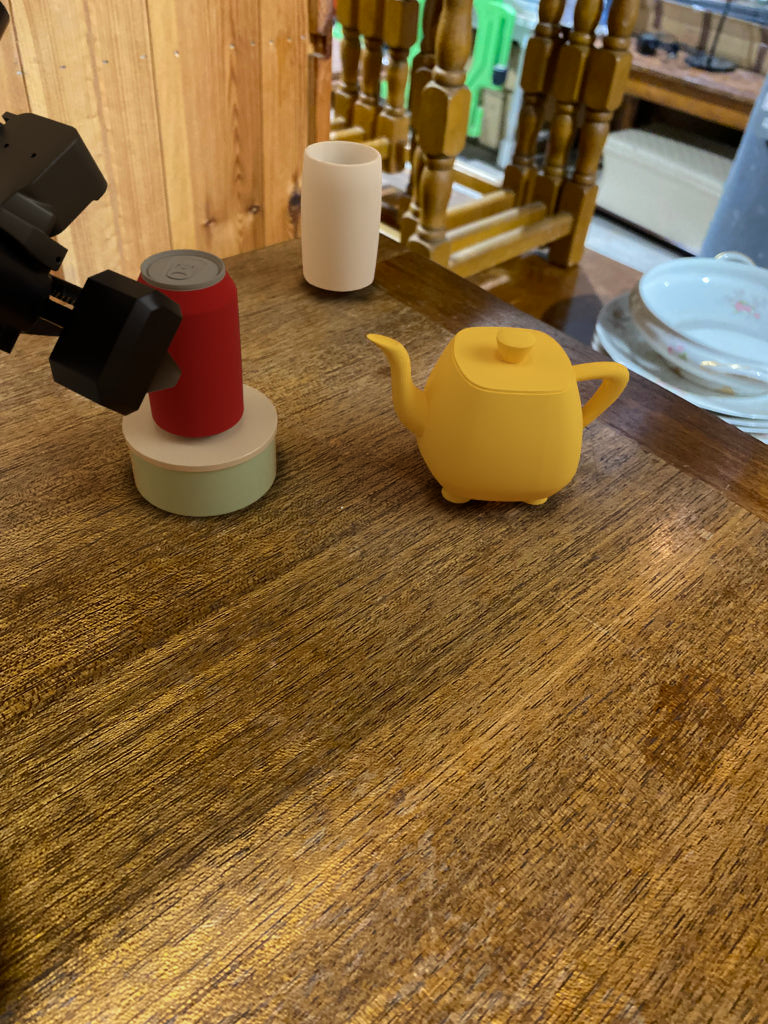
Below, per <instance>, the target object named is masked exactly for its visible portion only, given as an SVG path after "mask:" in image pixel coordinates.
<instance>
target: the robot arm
mask: <svg viewBox="0 0 768 1024" xmlns="http://www.w3.org/2000/svg"><path fill="white" fill-rule="evenodd" d="M10 23H11V16H10V14H9V11H8V10H7V7H6V6H5V5H4V3H3V1H1V0H0V42H1V41H2V39H3V36H4V35H5V32H6V31H7V29H8V26H9V24H10ZM1 118H2V119H3V121H4V123H3V122H2V121H0V351H2V352H3V353H6V354H9V355H11V354H12V351H13V349H14V347H15V345H16V343H17V341H18V339H19V337H20V335H29V336H41V337H54V338H55V337H57V340H56V342H55V343H54V346H53V348H52V350H51V353H50V355H49V357H48V363H49V367H50V372H51V375H52V380H53V382H54V383H56V384H58V385H60V386H62V387H63V388H66V389H68V390H70V391H71V392H73V393H75V394H78V395H79V396H81V397H83V398H85V399H87V400H89V401H91V402H93V403H95V404H96V405H99V406H101V407H103V408H105V409H107V410H110V411H112V412H115V413H118V414H120V415H122V416H123V417H124V416H127V415H129V414H131V413H133V412H135V411H137V410H139V408H140V406H141V404H142V402H143V400H144V398H145V395H146V393H150V392H155V391H159V390H163V389H167V388H172V387H174V386H175V385H176V384H177V382H178V380H179V378H180V376H181V373H182V371H181V369H180V368H179V366H178V365H177V363H176V362H175V361H174V359H173V358H172V356H171V355H170V353H169V352H168V351H167V350H168V348H169V346H170V344H171V342H172V340H173V338H174V336H175V334H176V332H177V330H178V328H179V325H180V323H181V321H182V319H183V317H182V313H181V309H180V305H179V304H177V303H176V302H174V301H173V300H172V299H170V298H169V297H167V296H166V295H164V294H163V293H162V292H160V291H159V290H157V289H155V288H152V287H150V286H148V285H145V284H143V283H141V282H138V281H137V279H133V278H130V277H128V276H127V275H123V274H121V273H119V272H116V271H114V270H111V269H109V268H108V269H105V270H103V271H100V272H98V273H94V274H93V275H90V276H88V277H87V278H86V280H85V282H84V284H83V287H81V286H80V285H77V284H74V283H72V282H70V281H68V280H65V279H63V278H60V277H58V276H56V275H54V274H51V271H52V272H59V270H60V268H61V266H62V264H63V262H64V260H65V258H66V256H67V254H68V252H69V249H68V248H66V246H63V244H61V243H59V242H57V241H56V240H54V239H53V238H54V237H56V236H58V235H60V234H62V233H63V232H64V231H65V230H66V229H67V228H68V227H69V226H70V225H71V224H72V223H73V222H74V221H75V220H76V219H77V218H78V217H79V216H80V215H81V214H82V213H83V212H84V211H85V210H86V209H87V208H88V206H90V204H91V203H92V202H94V201H95V202H97V201H100V199H101V198H102V197H103V196H104V195H105V193H106V192H107V190H108V181H107V180H106V178H105V176H104V175H103V173H102V171H101V169H100V167H99V166H98V164H97V162H96V160H95V159H94V157H93V155H92V154H91V151H90V150H89V148H88V146H87V145H86V143H85V141H84V140H83V138H82V137H81V134H80V133H79V131H78V129H77V128H76V127H75V126H72V125H70V124H67V123H64V122H60V121H57V120H55V119H51V118H49V117H45V116H42V115H40V114H36V113H33V112H23V113H19V114H15V113H13V112H10V111H5V112H4V113H2V114H1ZM50 297H52V298H55V299H57V300H58V301H61V302H63V303H66V304H67V305H70V306H72V308H70V307H68V306H66V305H63V304H61V303H59V302H57V301H55V300H52V299H51V298H50Z"/></svg>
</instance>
